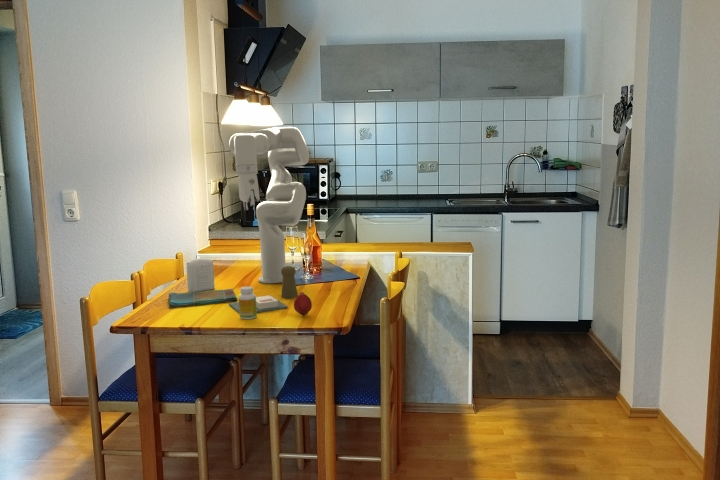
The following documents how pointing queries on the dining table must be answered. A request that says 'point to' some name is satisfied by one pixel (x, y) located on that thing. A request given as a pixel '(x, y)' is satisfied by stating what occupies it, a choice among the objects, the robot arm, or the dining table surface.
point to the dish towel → (201, 298)
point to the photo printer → (200, 274)
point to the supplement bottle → (247, 303)
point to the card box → (266, 302)
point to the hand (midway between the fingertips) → (249, 221)
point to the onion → (302, 304)
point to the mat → (236, 307)
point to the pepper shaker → (288, 283)
